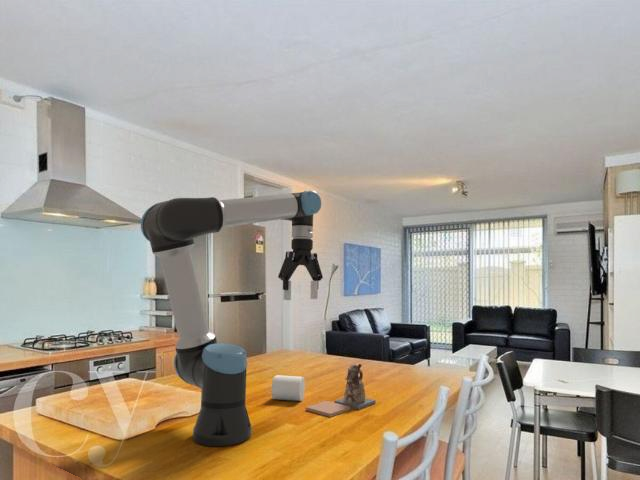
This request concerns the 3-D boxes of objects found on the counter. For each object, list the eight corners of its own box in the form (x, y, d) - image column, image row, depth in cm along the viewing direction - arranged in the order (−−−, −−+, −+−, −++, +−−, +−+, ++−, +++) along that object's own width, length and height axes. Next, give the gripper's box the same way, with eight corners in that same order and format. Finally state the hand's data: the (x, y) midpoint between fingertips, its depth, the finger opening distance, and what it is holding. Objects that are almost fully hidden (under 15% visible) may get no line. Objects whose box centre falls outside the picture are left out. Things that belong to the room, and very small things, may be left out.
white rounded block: (299, 403, 149) (299, 379, 149) (270, 401, 151) (271, 377, 151) (307, 394, 161) (307, 372, 161) (281, 392, 163) (281, 370, 163)
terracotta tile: (330, 417, 135) (330, 413, 135) (305, 410, 141) (306, 407, 141) (349, 409, 142) (349, 406, 143) (325, 403, 149) (325, 400, 149)
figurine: (340, 398, 152) (340, 363, 153) (358, 396, 154) (358, 361, 155) (350, 404, 145) (350, 367, 146) (369, 402, 148) (369, 365, 149)
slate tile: (358, 409, 143) (358, 406, 143) (334, 403, 149) (334, 400, 149) (375, 403, 150) (375, 400, 150) (351, 397, 157) (351, 394, 157)
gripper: (284, 235, 144) (282, 300, 143) (332, 240, 163) (332, 298, 161) (268, 236, 149) (267, 299, 147) (317, 241, 168) (316, 298, 166)
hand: (301, 299), depth 154 cm, fingers open, 13 cm apart
